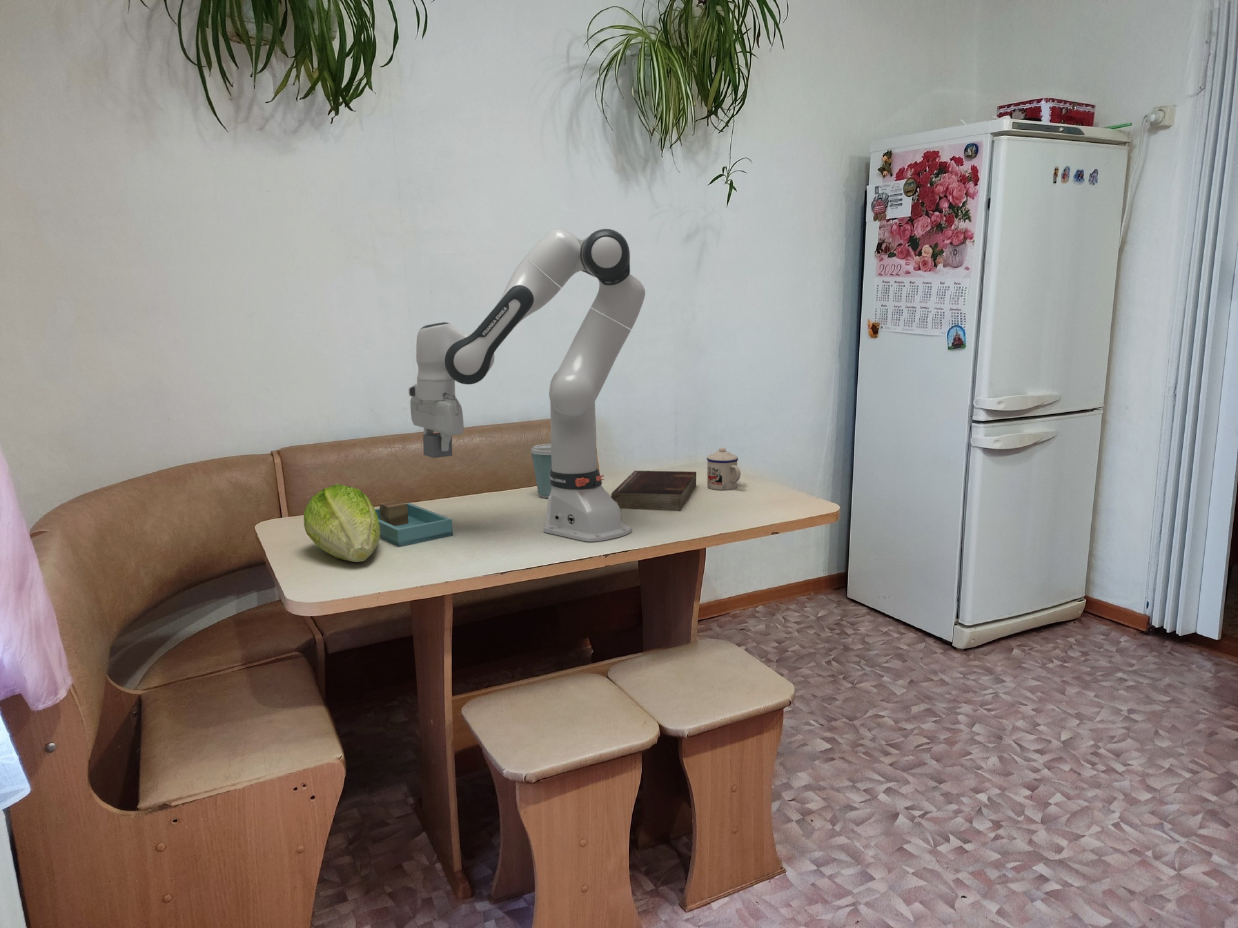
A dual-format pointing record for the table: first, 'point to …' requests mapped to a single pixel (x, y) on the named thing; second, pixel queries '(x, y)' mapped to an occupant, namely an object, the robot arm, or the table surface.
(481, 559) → the table surface
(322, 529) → the lettuce
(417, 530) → the teal tray
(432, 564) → the table surface
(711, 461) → the teacup with lid
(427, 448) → the charcoal block
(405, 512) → the walnut block
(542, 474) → the disposable coffee cup
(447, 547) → the table surface
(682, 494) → the hardback book
